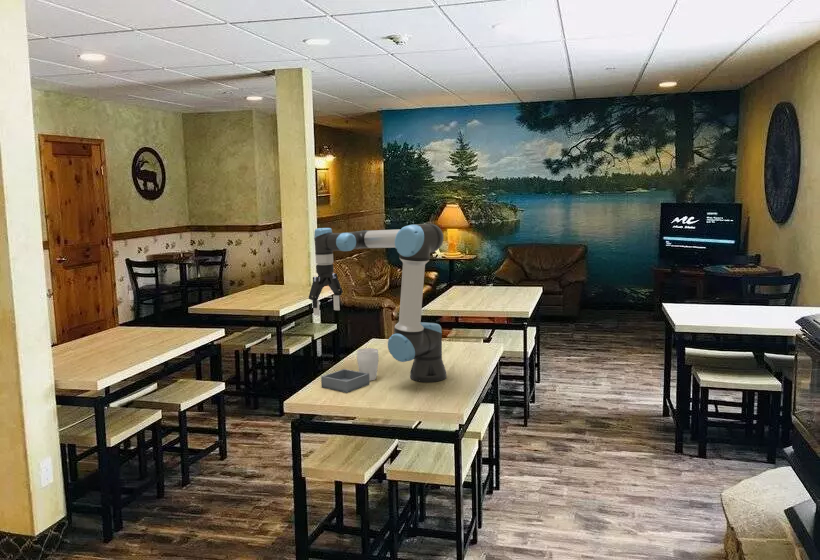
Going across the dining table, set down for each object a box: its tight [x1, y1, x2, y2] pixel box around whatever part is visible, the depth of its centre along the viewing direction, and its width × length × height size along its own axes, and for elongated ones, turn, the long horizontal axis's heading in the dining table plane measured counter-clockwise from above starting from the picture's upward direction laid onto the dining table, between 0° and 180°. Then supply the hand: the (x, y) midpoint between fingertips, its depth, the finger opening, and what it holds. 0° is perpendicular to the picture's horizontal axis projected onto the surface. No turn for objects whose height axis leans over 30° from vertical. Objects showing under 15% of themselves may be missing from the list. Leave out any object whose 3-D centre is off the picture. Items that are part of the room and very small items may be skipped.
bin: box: [320, 368, 370, 394], centre depth 272 cm, size 14×14×4 cm
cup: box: [356, 347, 379, 382], centre depth 281 cm, size 9×9×12 cm
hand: (326, 312), depth 294 cm, fingers open, 13 cm apart
